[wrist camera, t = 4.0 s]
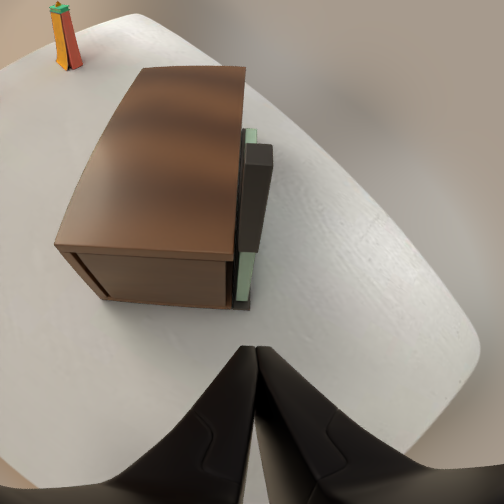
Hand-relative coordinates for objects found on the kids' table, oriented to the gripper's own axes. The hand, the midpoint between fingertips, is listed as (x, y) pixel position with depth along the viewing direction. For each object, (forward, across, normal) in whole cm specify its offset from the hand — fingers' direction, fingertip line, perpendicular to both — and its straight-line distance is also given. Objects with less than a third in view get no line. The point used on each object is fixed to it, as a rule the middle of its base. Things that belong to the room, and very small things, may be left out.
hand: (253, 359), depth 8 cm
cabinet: (+20, +6, -2) cm, 21 cm away
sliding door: (+16, 0, 0) cm, 16 cm away
